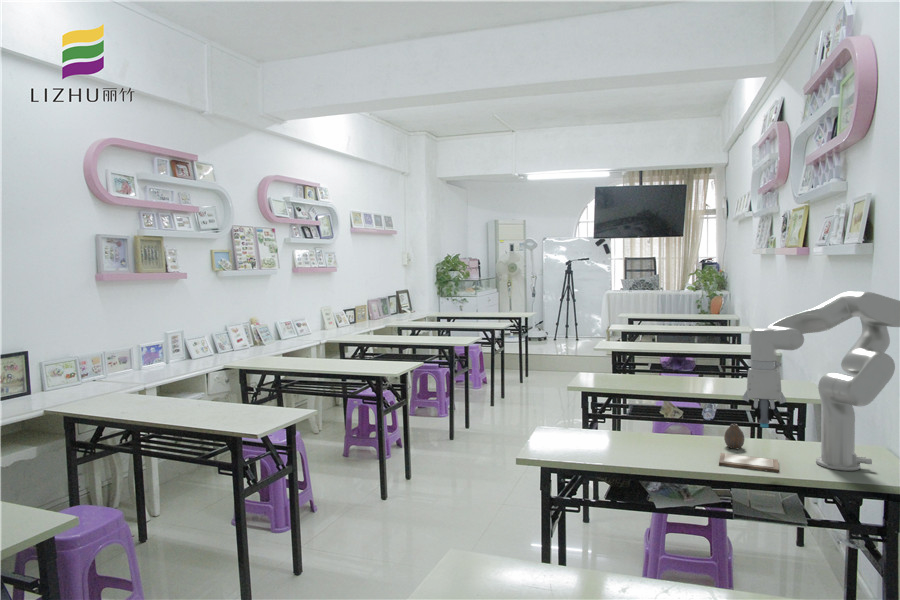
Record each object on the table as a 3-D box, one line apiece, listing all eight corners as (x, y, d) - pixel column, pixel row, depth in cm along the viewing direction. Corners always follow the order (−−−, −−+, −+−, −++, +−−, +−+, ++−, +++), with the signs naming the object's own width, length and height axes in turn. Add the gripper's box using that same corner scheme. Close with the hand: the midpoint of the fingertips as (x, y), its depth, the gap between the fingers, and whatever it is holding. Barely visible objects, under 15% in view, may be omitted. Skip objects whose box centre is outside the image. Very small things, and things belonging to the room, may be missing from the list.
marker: (769, 426, 195) (769, 390, 195) (769, 428, 193) (769, 392, 192) (759, 425, 197) (758, 390, 196) (759, 427, 194) (758, 392, 194)
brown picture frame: (777, 462, 202) (777, 459, 202) (778, 472, 191) (778, 468, 191) (720, 455, 210) (720, 452, 210) (718, 465, 200) (718, 461, 199)
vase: (740, 445, 224) (740, 422, 223) (747, 450, 217) (747, 426, 217) (721, 444, 224) (721, 422, 224) (728, 449, 218) (728, 426, 217)
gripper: (791, 364, 193) (792, 419, 194) (737, 362, 201) (737, 415, 202) (792, 368, 187) (792, 424, 187) (736, 365, 195) (736, 420, 195)
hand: (764, 419), depth 195 cm, fingers closed on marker, 3 cm apart
